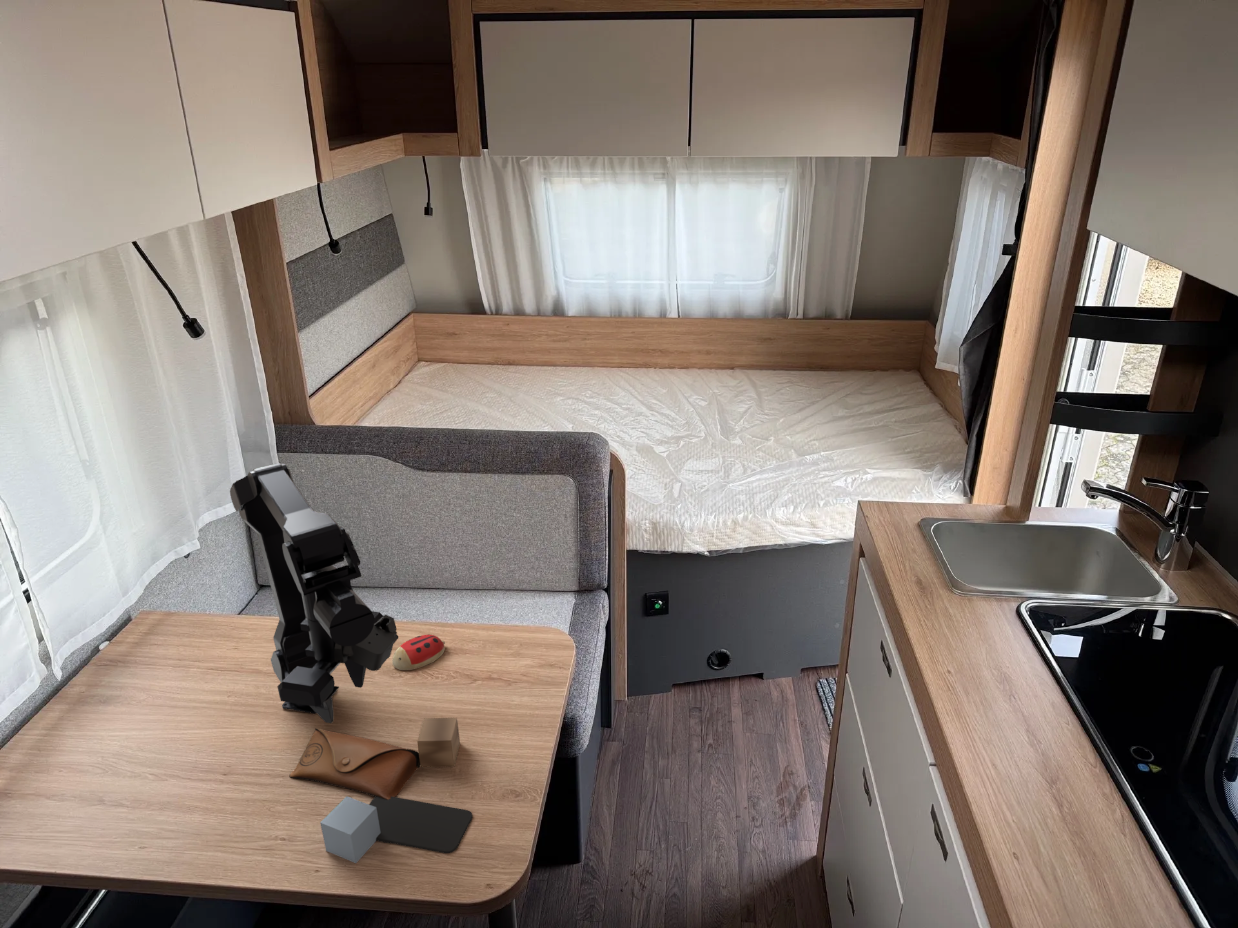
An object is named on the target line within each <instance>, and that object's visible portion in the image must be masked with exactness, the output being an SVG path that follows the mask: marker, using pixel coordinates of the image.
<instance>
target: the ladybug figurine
mask: <svg viewBox="0 0 1238 928" xmlns="http://www.w3.org/2000/svg"><path fill="white" fill-rule="evenodd" d="M445 647H446V646H445V640H441V638H439V637H438V636H437V635H435V634H423V635H418V636H415V637H412V638H411V639H409V640H406V641H405V642H403V643H402V644H401V645H399V647H398V648H397V649H396V650H395V651H394V652H393V657H392V661H391V662H392V663H391V664H392V666H393V667H394V668H395V669H397V670H399V671H411V670H416V669H419V668H422V667H426V666H427V665H430V664H432V663H433V662H435V661H436V660H438V659H439V658H440V657H441V656H442V655H443V654H444V652H445V649H446V648H445Z"/></svg>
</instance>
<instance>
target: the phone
mask: <svg viewBox="0 0 1238 928" xmlns="http://www.w3.org/2000/svg"><path fill="white" fill-rule="evenodd" d="M369 805H371V806H374V807H376V809H377V815H378V820H379V826H380V832H381V833H380V834H379V835H378V836H377V838H376V842H381V843H384V844H393V845H399V846H404V847H410V848H414V849H419V850H425V851H430V852H436V853H442V854H452V853H454V852H455V851H457V849H458V847H459V846H460V843H461V841H462V839H464V836H465V833H466V832H467V830H468V828H469V826H470V824H471V822H472V820H473V813H472V811H470V810H468V809H463V808H458V807H452V806H447V805H442V804H436V803H431V802H426V801H425V802H424V801H419V800H413V799H408V798H403V797H398V796H396V797H392V796H391V799H389V800H387V799H384V798H381V797H378V796H376V797H373V799H372V800H371V801H370V802H369Z"/></svg>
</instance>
